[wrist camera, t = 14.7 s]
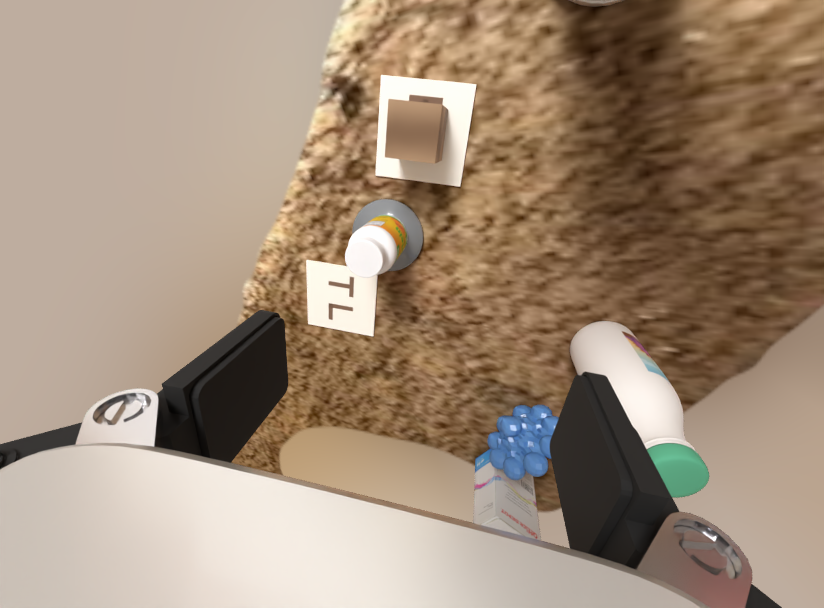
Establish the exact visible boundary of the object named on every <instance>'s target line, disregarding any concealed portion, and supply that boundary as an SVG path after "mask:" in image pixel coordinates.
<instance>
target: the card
mask: <svg viewBox="0 0 824 608" xmlns="http://www.w3.org/2000/svg"><path fill="white" fill-rule="evenodd" d="M306 266H307V300H308V324H311V325H316V326H321V327H326V328H332V329H337V330H342V331H347V332H353V333H358V334H363V335H368V336H374V324H375V309H376V293H377V278H378V275H375V276H373V277H370V278H363V277H359V276H357V275H355V274H354V273H352V272H351V271H350V269H349V268H348V266H342V265H336V264H330V263H324V262H318V261H312V260H306Z"/></svg>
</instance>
